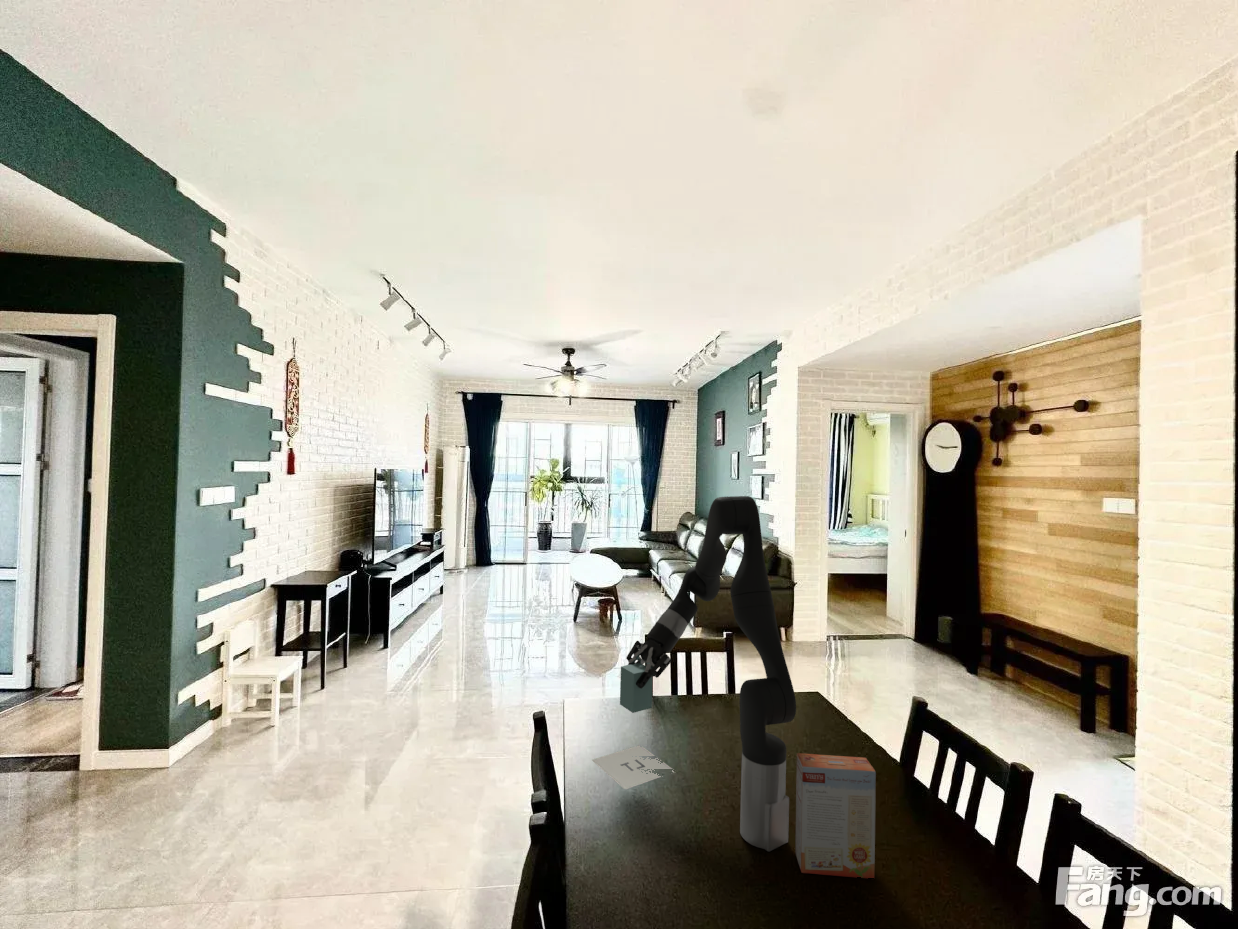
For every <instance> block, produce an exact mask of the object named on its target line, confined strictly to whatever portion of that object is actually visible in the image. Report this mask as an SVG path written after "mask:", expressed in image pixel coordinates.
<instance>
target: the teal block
mask: <svg viewBox="0 0 1238 929" xmlns="http://www.w3.org/2000/svg"><path fill="white" fill-rule="evenodd" d="M646 666H647V665H645V664H641V663H636V662H635V664H630V665H628V664H626V665H621V666H620V688H619V690H620V692H619V705H620V706H621V707H623V708H625V709H626V710H627V711H629V712H631V713H632V714H635V713H638V712H642V711H646V710H649V709H653V708H652V706H653V677H651V678H650V679H649V680H648V682H647V683H646V685H645V686H644V687H643V688H642V689H641V688H639V687H638V686H637V685H636V682H637V680H638V679H639V678H640V676H641V675H642V673H643V672H645V669H646ZM650 669H651V668H650Z"/></svg>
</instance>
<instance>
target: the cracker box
mask: <svg viewBox="0 0 1238 929" xmlns="http://www.w3.org/2000/svg"><path fill="white" fill-rule="evenodd" d="M876 775H877V773H876V770H875V768H874V767H873V765H871V763H870V761H869V760H868V759H867V757H861V756H860V757H858V756H846V755H845V756H843V755H832V754H831V755H829V754H816V753H815V754H814V753H803V752H801V753H800V752H798V753H796V780H795V781H796V782H795V784H796V785H795V788H796V789H795V791H796V792H795V793H796V794H795V856H796V859H797V860H796V861H797V864H798V866H799V869H800V872H801V874H813V875H822V876H835V877H844V878H845V877H846V878H857V877H861V878H860V879H868V878H874V879H875V868H876V867H875V866H876V864H875V863H876V862H875V861H876V859H875V858H876V856H875V855H876V852H875V850H876V848H875V847H876V846H875V845H876V784H877V783H876V780H877V779H876V777H877V776H876Z"/></svg>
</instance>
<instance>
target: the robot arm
mask: <svg viewBox="0 0 1238 929" xmlns="http://www.w3.org/2000/svg"><path fill="white" fill-rule="evenodd" d="M759 512H760V511H759V509H758V505H757V502H756V500H755V499H754V498H753V497H751V496H747V495H740V496H739V495H734V496H719V497H716V498H715V499H713V501H712V502H711V505H710V508H709V512H708V516H707V521H706V526H705V532H704V538H703V544H702V547H701V551H700V553H699V556H698V558H697V561H696V563H695V566H691V567H689V568H688V569H687V570H686V571H685V573H684V576H683V577H682V578H683V579H682V581H681V584H680V587H679V590H678V592H677V594H676V596H675V597H674V599H673V600H672V602H671V603H670V604H669V606H668V607H667V609H666V610H665V611H664V612H663V613H662V614H661V615H660V617H659V618H658V620H657V621H656V622H655V624H654V625H653V626H652V628H650V630H649V632H648V634H647V640H646V641H645V642H643V643H641V642H640V641H639V640H635V643H634V644H633V645H632V647H631V649H630V651H629V652H628V654H627V656H626V658H625V660H627V662H628V664H627V665H630V664H635V663H641V664H643V665H645V663H646V665H645V666H646V669H645V672H643V673H642V675H641V676H640V678H639V679H638V680H637V682H636V685H637V686H638V687H639V688H641V689H642V688H643V687H644V686H645V685H646V683H647V682H648V680H649V679H650V678H651V677H652V678H653V677H654V678H659V677H660V676H661V674H662V673H663V672H665V669H667V668H668V666H669V665H670V664H671V663H672V659H671V658H670V656H669V655H668V653H671V651H672V650H673V649H674V647H675V646H676V644H677V643H678V641H679V640H680V638H681V637H682V636H683V634H684V633H685V631H686V628H687V627H688V626H689V624H690V622H691V621H692V620H693V619H694V617H695V615H696V614H697V612H698V610H699V609H698V606H697V604H696V603H695V601H694V600H693V599H692V598H691V597H690V596H689V592H690V593H692V594H694V595H695V596H696V597H698V598H699V599H700V600H702V601H705V602H711V601H713V600H714V599H715V598H716V597H717V596H718V595H719V592H720V588H721V573H722V570H723V569H724V566H725V564H726V562H727V550H726V547H725V546H724V543H723V542H722V541H721V537H722V535H742V537H743V553H742V558H741V561H740V563H739V565H738V568H737V570H736V572H735V575H734V576H733V580H732V581H731V582H732V583H731V586H730V590H729V591H730V598H731V599H730V600H731V604H732V611H733V616H734V619H735V622H736V623H737V625H738V627H739V628H740V630H741V631H742V632H743V634H744V635H745V636H746V638H747V639H748V640H749V641H750V642H751V644H752V645H753V647H754V648H755V649H756V651H757V652H758V654H759V657H760V658H761V661H762V665H763V667H764V671H765V676H766V677H765V678H762V677H761V678H753V679H747V680H745V681H743V683H742V684H741V687H740V690H739V725H740V726H739V729H740V730H739V732H740V739H741V740H740V741H741V745H742V746H741V778H740V780H741V782H740V816H739V817H740V819H739V823H740V824H739V833H740V836H741V837H742V838H743V840H744V841H746V842H747V843H748V844H750V845H751V846H754V847H756V848H760V849H763V850H765V851H767V852H771V851H773V850H775V849H778V848H779V847H781V846H783V845H785V844H787V843H789V826H790V825H789V823H790V822H789V821H790V820H789V817H790V815H789V814H790V797H789V796H788V795H786V783H787V782H786V780H787V779H786V778H787V777H786V776H787V774H786V773H787V745H786V743H785V742H784V741H783V740H782V739H781V738H780V737H778V736H776V735H774V734H772V733H769V732H767V730H766V726H770V725H771V726H772V725H779V724H787V723H790V722H792V721H793V720H794V719H795V717H796V713H797V700H796V696H795V690H794V686H793V683H792V680H791V675H790V673H789V668H788V665H787V661H786V658H785V654H784V650H783V646H782V643H781V642H782V641H781V637H780V633H779V628H778V622H777V618H776V610H775V605H774V599H773V595H772V594H773V593H772V588H771V585H770V580H769V577H768V572H767V566H766V561H765V555H764V553H765V552H764V546H763V538H762V529H761V519H760V513H759ZM650 668H651V669H650Z"/></svg>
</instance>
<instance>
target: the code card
mask: <svg viewBox="0 0 1238 929" xmlns="http://www.w3.org/2000/svg"><path fill="white" fill-rule="evenodd" d="M640 745H641V744H638V745H636V746H637V747H636V746H632V747H630V748H629V747H628V748H626V749H622V750H619V751H616V752H612V753H609V754H607V755H603V756H598V757H597V758H594V759H593V758H592V759H591V761H592V762H593V763H594V764H595V765H597V766H598V767H599V768H600V769H601V770H602V771H603V772H604V773H606V775H607V776H608V777H610V778H612V780H613V781H614V782H616V783H617V784H618V785H619V787H621V788H622V789H623V790H629V789H631V788H634V787H636V786H639V785H642V784H645V783H647V782H650V781H653V780H656V779H658V778H662V777H661V776H658V775H659V774H658V775H657V773H656V774H654V773H652V770H654V769H673V768H672V767H671V766H669V765H668V764H667V763H665V762H664V761H663V763H661V762H660V761H662V759H660V758H659V759H660V761H658V760H659V759H658V757H657V758H655V759H651V758H650V759H651V760H650V759H648V758H649V757H647V758H646V759H645V760H643V759H644V758H642V757H639V756H656V755H655V754H653V753H652V752H650V751H649V750H648V749H646V748H645V747H644V746H642V747H640ZM632 756H633V757H632ZM635 756H637V757H635ZM640 758H641V759H640ZM656 759H658V760H656ZM658 762H659V763H658ZM660 763H661V764H660ZM639 769H640V770H639ZM641 769H644V770H647V769H650V770H648V771H646V772H645V771H644V770H641ZM651 769H652V770H651ZM673 770H674V769H673ZM673 770H672V772H673V773H675V772H674V771H673ZM641 771H642V772H643V773H642V772H641ZM649 771H651V773H650V772H649ZM654 771H655V770H654ZM646 773H648V774H646Z"/></svg>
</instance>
